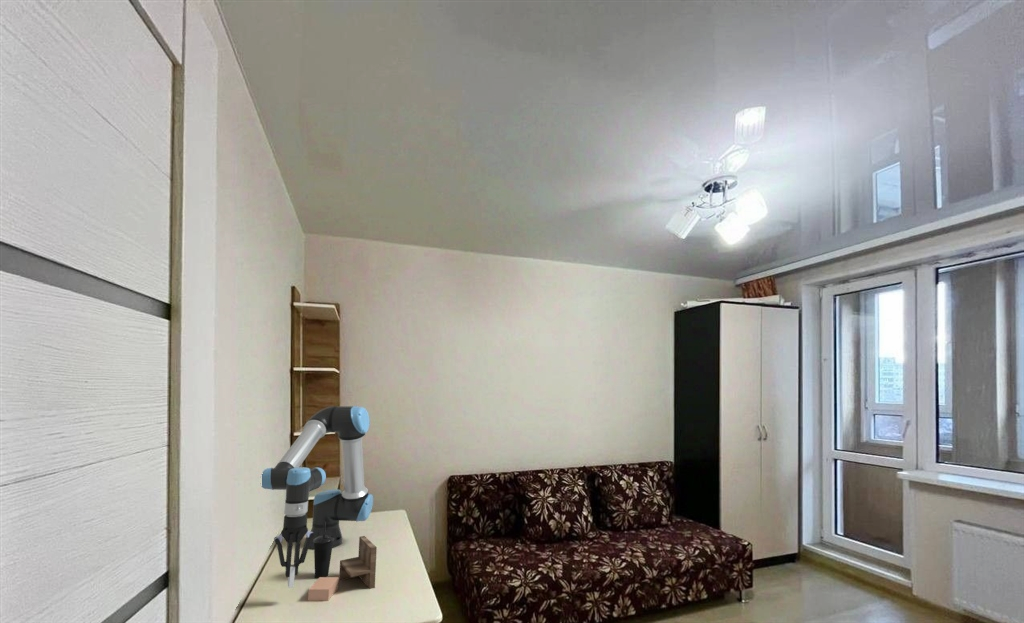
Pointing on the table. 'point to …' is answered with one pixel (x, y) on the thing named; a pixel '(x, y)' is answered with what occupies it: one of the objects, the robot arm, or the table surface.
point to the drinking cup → (322, 554)
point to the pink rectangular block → (323, 589)
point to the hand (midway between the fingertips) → (290, 586)
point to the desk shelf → (361, 564)
